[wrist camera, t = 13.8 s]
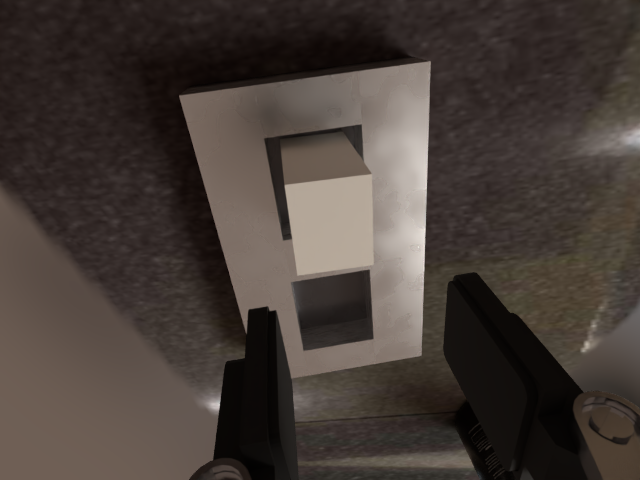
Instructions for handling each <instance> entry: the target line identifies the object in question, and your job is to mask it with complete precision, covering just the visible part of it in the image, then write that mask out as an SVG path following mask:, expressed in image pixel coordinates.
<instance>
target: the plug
mask: <svg viewBox="0 0 640 480" xmlns="http://www.w3.org/2000/svg"><path fill="white" fill-rule="evenodd" d="M280 146H281V156H282V166H283V175H284V185H285V192H286V199H287V206H288V213H289V220H290V227H291V234H292V241H293V248H294V255H295V262H296V269H297V276H299V275H306V274H313V273H320V272H327V271H334V270H341V269H348V268H356V267H363V266H370V265H374V252H373V201H372V173H371V172H370V170H369V169H368V167H367V166H366V165H365V163H364V162H363V160H362V159H361V157H360V156H359V154H358V153H357V151H356V150H355V148H354V147H353V146H352V144H351V143H350V141H349V140H348V138H347V137H346V135H345V134H344V132H336V133H327V134H319V135H311V136H302V137H294V138H285V139H280Z"/></svg>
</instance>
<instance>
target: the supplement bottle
mask: <svg viewBox="0 0 640 480" xmlns="http://www.w3.org/2000/svg"><path fill="white" fill-rule="evenodd" d="M455 425H456V429H457V432H458V434H459V436H460V438H461V440H462V443H463V445H464V447H465V449H466V451H467V453H468V455H469V457H470V459H471V461H472V464H473V466H474V468H475V470H476V472H477V474H478V476H479V478H480V480H516V478H515V476H514V474H513V472H512V471H506V470H505V469H504V468H503V466H502V464H501V463H500V461H499V459H498V457H497V455H496V453H495V451H494V449H493V447H492V446H491V444H490V442H489V440H488V438H487V436H486V434H485V432H484V430H483V429H482V427H481V425H480V423H479V421H478V419H477V417H476V415H475V413H474V411H473V410H472V408H471V406H470V404H469V402H467V403H466V404H465V405H463V407H462V408H461V409H460V410H459V412H458V414H457V416H456V421H455Z"/></svg>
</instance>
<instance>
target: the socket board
mask: <svg viewBox="0 0 640 480" xmlns="http://www.w3.org/2000/svg"><path fill="white" fill-rule="evenodd" d="M430 64H431V61H427V60H423V59H419V58H415V57H411V56H410V57H402V58H395V59H387V60H380V61H373V62H365V63H358V64H351V65H343V66H336V67H329V68H321V69H314V70H307V71H299V72H292V73H285V74H277V75H270V76H262V77H255V78H248V79H240V80H233V81H226V82H218V83H211V84H204V85H196V86H190V87H189V88H188V89H186V90H185V91H184V92H183V93H182V94H180V95H179V97H180V101H181V104H182V108H183V112H184V115H185V119H186V122H187V126H188V129H189V133H190V136H191V140H192V143H193V147H194V150H195V154H196V157H197V161H198V165H199V168H200V172H201V175H202V179H203V182H204V186H205V189H206V193H207V196H208V200H209V203H210V207H211V211H212V214H213V218H214V221H215V225H216V228H217V232H218V235H219V239H220V242H221V246H222V249H223V253H224V257H225V260H226V264H227V267H228V271H229V274H230V278H231V281H232V285H233V288H234V292H235V295H236V299H237V303H238V306H239V310H240V313H241V317H242V320H243V324H244V327H245V331H246V334H247V320H248V310H249V309H254V308H260V307H266V306H268V307H269V310H270V311H273V310H276V311H277V314H278V319H279V324H280V328H281V333H282V337H283V342H284V346H285V351H286V355H287V360H288V365H289V369H290V374H291V378H296V377H302V376H308V375H313V374H319V373H325V372H331V371H336V370H342V369H348V368H354V367H360V366H365V365H371V364H377V363H383V362H388V361H394V360H400V359H406V358H411V357H417V356H421V351H422V319H423V288H424V256H425V224H426V192H427V160H428V128H429V96H430ZM336 132H344V134H345V135H346V137H347V138H348V140H349V141H350V143H351V144H352V146H353V147H354V148H355V150H356V151H357V153H358V154H359V156H360V157H361V159H362V160H363V162H364V163H365V165H366V166H367V167H368V169H369V170H370V172H371V173H372V201H373V252H374V265H370V266H363V267H356V268H348V269H341V270H334V271H327V272H320V273H313V274H306V275H299V276H297V269H296V262H295V255H294V248H293V241H292V234H291V227H290V220H289V213H288V206H287V199H286V192H285V185H284V175H283V166H282V156H281V146H280V139H285V138H294V137H302V136H311V135H319V134H327V133H336Z"/></svg>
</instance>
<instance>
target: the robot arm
mask: <svg viewBox="0 0 640 480" xmlns="http://www.w3.org/2000/svg"><path fill="white" fill-rule="evenodd" d="M443 350H444V355H445V358H446V360H447V362H448V364H449V366H450V368H451V370H452V372H453V374H454V376H455V377H456V379H457V381H458V383H459V385H460V387H461V389H462V391H463V393H464V394H465V396H466V398H467V400H468V402H469V404H470V406H471V408H472V410H473V411H474V413H475V415H476V417H477V419H478V421H479V423H480V425H481V427H482V429H483V430H484V432H485V434H486V436H487V438H488V440H489V442H490V444H491V446H492V447H493V449H494V451H495V453H496V455H497V457H498V459H499V461H500V463H501V464H502V466H503V468H504V469H505V470H506V471H512V472H513V474H514V476H515V478H516V480H640V409H639V408H638V407H637V406H636V405H635V404H633V403H631V402H630V401H628V400H626V399H624V398H622V397H620V396H617V395H614V394H611V393H608V392H602V391H588V392H585V393H584V392H583V391H582V390H581V389H580V388H579V386H578V385H577V384H576V383H575V382H574V381H573V379H572V378H571V377H570V376H569V375H568V373H567V372H566V371H565V370H564V369H563V368H562V366H561V365H560V364H559V363H558V362H557V361H556V359H555V358H554V357H553V356H552V355H551V353H550V352H549V351H548V350H547V349H546V348H545V346H544V345H543V344H542V343H541V342H540V341H539V339H538V338H537V337H536V336H535V335H534V334H533V332H532V331H531V330H530V329H529V328H528V327H527V325H526V324H525V323H524V322H523V321H522V319H521V318H520V317H519V316H517V315H516V314H514V313H510V312H509V311H508V310H507V309H506V307H505V306H504V305H503V304H502V303H501V301H500V300H499V299H498V298H497V297H496V295H495V294H494V293H493V292H492V291H491V289H490V288H489V287H488V286H487V285H486V283H485V282H484V281H483V280H482V279H481V277H480V276H479V275H478V274H477V273H475V272H473V273H467V274H461V275H456V276H454V278H453V281H450V282H449V283H448V289H447V303H446V317H445V331H444V346H443ZM189 480H299V478H298V463H297V449H296V434H295V419H294V404H293V389H292V380H291V374H290V369H289V365H288V360H287V355H286V351H285V346H284V342H283V337H282V333H281V328H280V324H279V319H278V314H277V311H276V310H273V311H270V310H269V307H268V306H266V307H260V308H254V309H249V310H248V320H247V335H246V350H245V358H243V359H238V360H232V361H227V362H226V364H225V369H224V377H223V385H222V393H221V401H220V409H219V417H218V425H217V433H216V442H215V450H214V458H213V461H210V462H208V463H207V464H205V465H203V466H202V467H200V468H199V469H198V470H197V471H196V472H195V473H194V474H193V475H192V476H191V478H190V479H189Z"/></svg>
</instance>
